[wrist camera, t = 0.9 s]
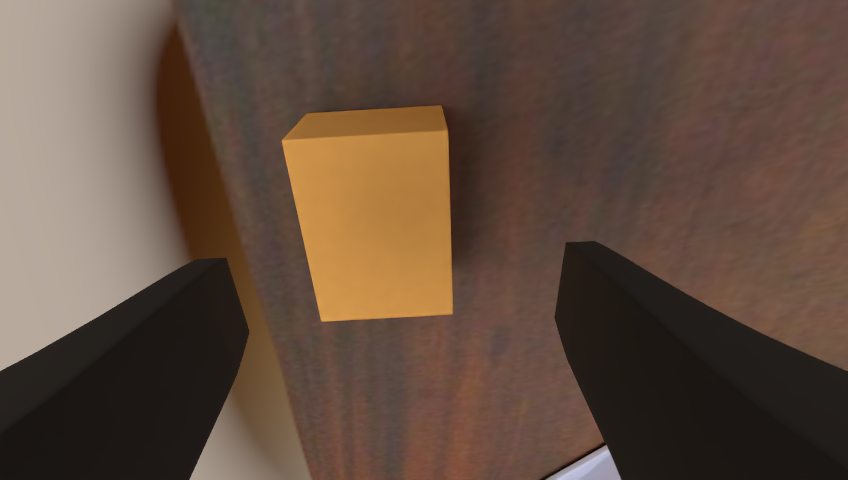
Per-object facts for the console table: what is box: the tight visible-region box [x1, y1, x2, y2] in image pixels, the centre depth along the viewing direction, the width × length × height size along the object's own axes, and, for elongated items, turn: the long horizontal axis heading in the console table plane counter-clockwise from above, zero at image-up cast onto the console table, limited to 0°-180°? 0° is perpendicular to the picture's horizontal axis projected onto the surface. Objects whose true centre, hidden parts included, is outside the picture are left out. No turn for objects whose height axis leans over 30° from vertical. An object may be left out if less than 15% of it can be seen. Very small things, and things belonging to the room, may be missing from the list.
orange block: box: [282, 105, 453, 322], centre depth 16 cm, size 7×5×4 cm
